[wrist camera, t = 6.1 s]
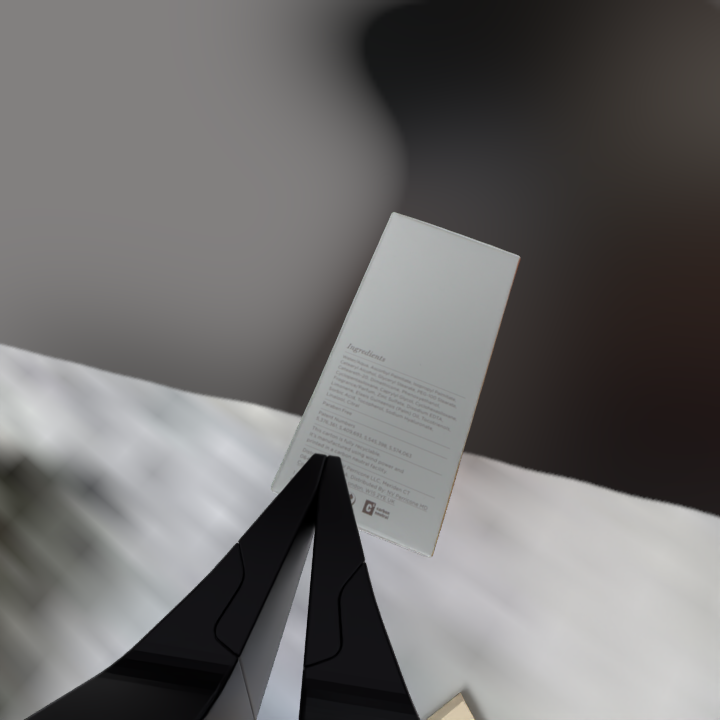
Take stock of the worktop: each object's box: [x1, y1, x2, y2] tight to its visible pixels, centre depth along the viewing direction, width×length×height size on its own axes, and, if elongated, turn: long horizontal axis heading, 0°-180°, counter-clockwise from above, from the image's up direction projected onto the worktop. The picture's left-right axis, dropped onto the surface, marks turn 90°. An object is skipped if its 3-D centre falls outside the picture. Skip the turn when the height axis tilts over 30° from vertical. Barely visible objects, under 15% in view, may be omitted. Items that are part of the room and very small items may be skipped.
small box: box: [271, 212, 521, 557], centre depth 16 cm, size 8×6×13 cm
